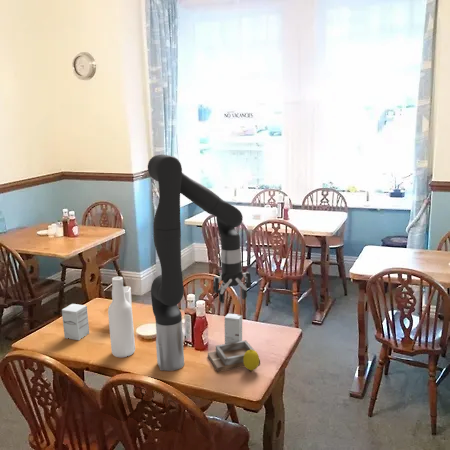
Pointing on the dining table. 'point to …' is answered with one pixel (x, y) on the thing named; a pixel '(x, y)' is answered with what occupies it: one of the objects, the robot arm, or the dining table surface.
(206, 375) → the dining table surface
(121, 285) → the alcohol
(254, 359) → the lemon
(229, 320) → the skincare box
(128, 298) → the cup
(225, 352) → the grey open rectangular piece
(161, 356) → the robot arm
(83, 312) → the supplement box
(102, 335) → the dining table surface
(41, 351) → the dining table surface
